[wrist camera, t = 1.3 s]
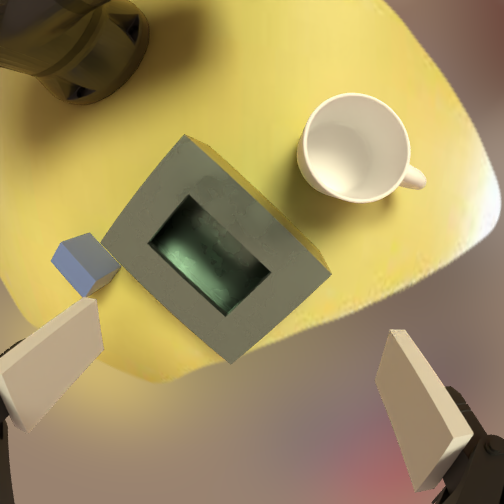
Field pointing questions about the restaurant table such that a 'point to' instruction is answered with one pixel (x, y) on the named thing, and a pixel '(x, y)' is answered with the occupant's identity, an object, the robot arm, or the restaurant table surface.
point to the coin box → (214, 250)
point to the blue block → (85, 264)
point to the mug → (356, 150)
